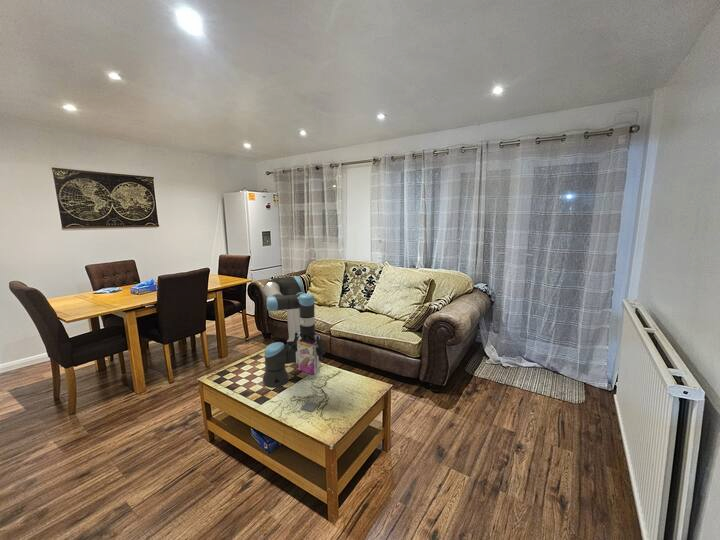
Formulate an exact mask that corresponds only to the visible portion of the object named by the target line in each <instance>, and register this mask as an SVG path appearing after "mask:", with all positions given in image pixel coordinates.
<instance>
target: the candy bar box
mask: <svg viewBox="0 0 720 540" xmlns="http://www.w3.org/2000/svg"><path fill="white" fill-rule="evenodd" d="M300 340H301V339H300ZM300 340H298V341H297V360H298V364H297V370H298V371H300V372H303V373H306V374H309V375H312V376H315V375H317V374H319V373H320V367H319V368H317V355H318V354H317V352H316V348H318V347H319V346H318V344H317V341H316V342H315V343H314V344H310V343H309V342H304V341H302V342H300ZM312 342H313V341H312Z"/></svg>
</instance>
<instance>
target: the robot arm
mask: <svg viewBox="0 0 720 540" xmlns="http://www.w3.org/2000/svg"><path fill="white" fill-rule="evenodd" d="M262 291H263V294H264V295H265V297H267V298H266V309H267V311H268V312H280V311H286V317H287V318H286V319H287V329H288V339H287V340H286V344H285V343H284V342H281V341H276V342H272V343H270V344H268V345H267V346H266V347H265V349H264V365H265V366H264V367H265V368H264V369H265V370H264V374H263V377H262V384H263V385H264V387H267V388H278V387H282V386H284V385H285V384H287V383H288V382H289V375H288V372H287V369H286V365H288V364H297V365H298V360H297V341H298V340H300V339H301V340H300V342H302V341H304V342H309V343H310V344H314V343H315V342H317V344H318V346H319V347H318V348H316V352H317V354H318V355H317V368H319V369H320V367H321V366H322V364H321V363H322V361H323V356H324V355H325V354H326V349H325V346H324V344H323V342H322V341H323V340H322V338H321V337H322V336H321V334H318V335H317V334H316V333H315V332H316V320H315V319H316V318H315V317H316V316H315V313H316V312H315V302H316V301H315V296H314V294H312V293H307V292H306V293H304V284H303V281H302V278H301V277H300V276H295V275H293V276H281V277H274V278H273V277H272V278H270V279H269V280H267V281H266V282H265V283H264V285H263V289H262ZM312 341H313V342H312Z"/></svg>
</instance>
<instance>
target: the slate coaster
mask: <svg viewBox="0 0 720 540" xmlns="http://www.w3.org/2000/svg"><path fill="white" fill-rule="evenodd" d="M318 406H319V403H316V402H312V401H308V400H306V402H305V403H303V405H302V406H301V407H300V410H302V411H305V412H309V413H313V412H314V411H315V409H316V408H318Z"/></svg>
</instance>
